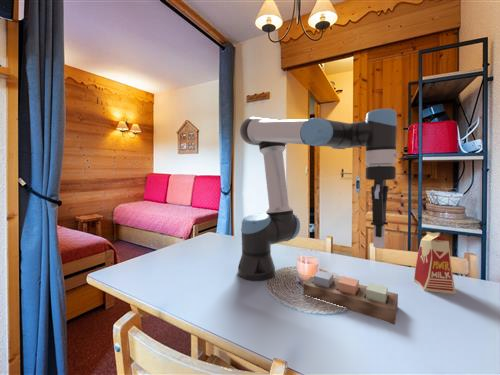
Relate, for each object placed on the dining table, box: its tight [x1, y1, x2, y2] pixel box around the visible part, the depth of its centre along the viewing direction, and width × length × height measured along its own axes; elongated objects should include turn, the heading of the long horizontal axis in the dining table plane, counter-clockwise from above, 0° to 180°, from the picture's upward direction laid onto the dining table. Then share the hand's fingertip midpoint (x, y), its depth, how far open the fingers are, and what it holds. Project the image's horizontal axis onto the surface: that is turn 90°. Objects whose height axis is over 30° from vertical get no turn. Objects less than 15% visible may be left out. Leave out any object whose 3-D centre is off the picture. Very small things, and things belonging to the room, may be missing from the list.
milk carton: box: [413, 231, 457, 295], centre depth 84 cm, size 9×9×20 cm
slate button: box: [313, 270, 334, 288], centre depth 80 cm, size 5×5×4 cm
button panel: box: [302, 276, 399, 325], centre depth 76 cm, size 26×10×4 cm, turn 54°
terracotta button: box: [338, 275, 360, 296], centre depth 75 cm, size 5×5×4 cm
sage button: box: [366, 282, 389, 304], centre depth 71 cm, size 5×5×4 cm
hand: (378, 246), depth 69 cm, fingers closed
